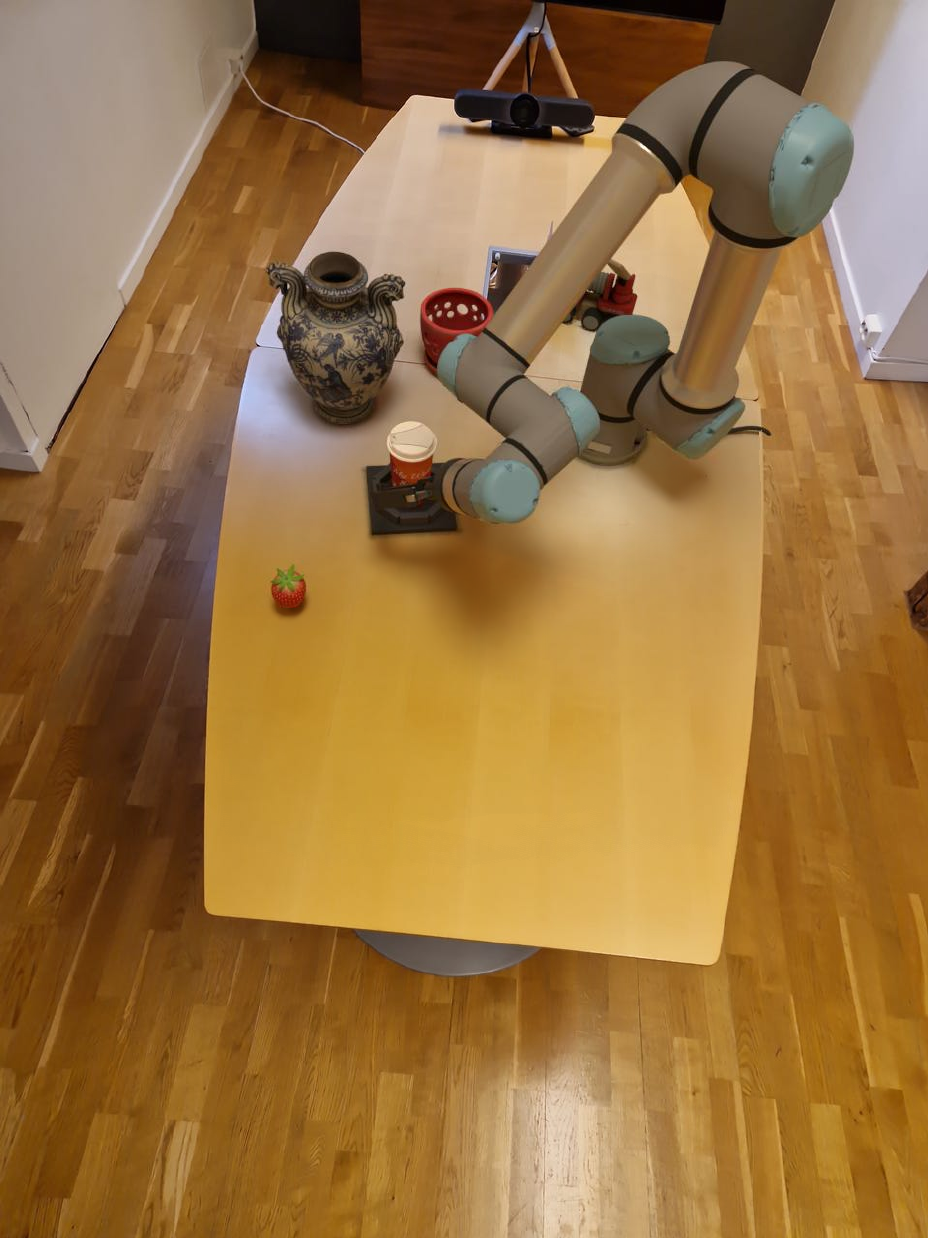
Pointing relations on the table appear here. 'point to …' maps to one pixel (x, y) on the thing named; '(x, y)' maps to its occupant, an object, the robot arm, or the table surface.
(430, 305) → the plant pot
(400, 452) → the paper cup
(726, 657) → the table surface
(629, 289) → the toy fire truck
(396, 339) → the decorative vase
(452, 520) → the pad
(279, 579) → the fruit
